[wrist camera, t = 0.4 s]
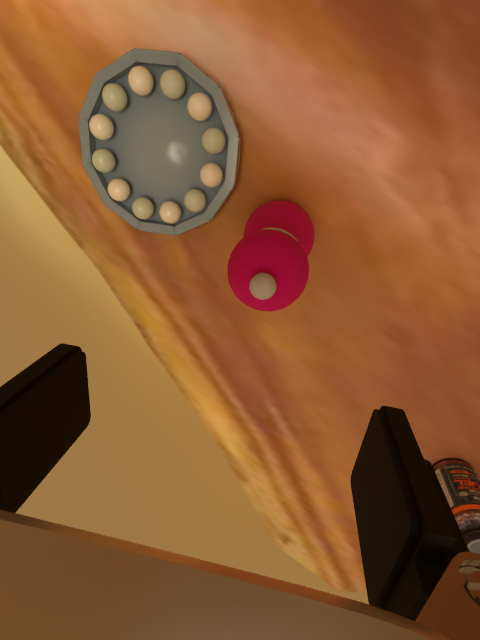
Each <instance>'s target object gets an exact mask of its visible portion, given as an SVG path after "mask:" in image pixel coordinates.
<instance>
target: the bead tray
mask: <svg viewBox="0 0 480 640" xmlns="http://www.w3.org/2000/svg"><path fill="white" fill-rule="evenodd" d="M97 74H98V75H97ZM97 74H96V75H95V77H94V80H93V82H92V85H91V87H90V90H89V92H88V95H87V97H86V100H85V102H84V105H83V107H82V110H81V112H80V115H79V117H80V118H79V128H80V140H81V151H82V162H83V164H85V165H83V166H84V168H85V170H86V172H87V174H88V175H89V177H90V179H91V181H92V183H93V185H94V186H95V188H96V190H97V192H98V194H99V196H100V197H101V199H102V201H103V203H104V204H106V205H105V206H107V207H108V208H109V209H111V210H112V211H113V212H115V213H116V214H117V215H119V216H120V217H121V218H123V219H124V220H125V221H127V222H128V223H129V224H131V225H132V226H133V227H135V228H136V229H139V230H142V231H148V232H155V233H161V234H168V235H174V236H175V235H179V234H181V233H183V232H185V231H188V230H190V229H192V228H195V227H197V226H199V225H201V224H204V223H206V222H208V221H210V220H212V219H213V218H214V217H215V215H216V214H217V212H218V211H219V209H220V208H221V207H222V206H223V205H224V203H225V202H226V201H227V199H228V197H229V196H230V194H231V192H232V190H233V189H234V187H235V186H236V185H235V184H236V183H237V176H238V173H239V167H240V161H241V143H240V142H241V138H240V133H239V129H238V125H237V122H236V119H235V115H234V113H233V111H232V108H231V106H230V104H229V102H228V100H227V99H226V96H225V94H224V91H223V89H222V88H221V87H220V86H219V85H218V84H217V83H215V82H214V81H213V80H212V79H211V78H210V77H208V76H207V75H206V74H205V73H204V72H203V71H201V70H200V69H199V68H198V67H197V66H196V65H194V64H193V63H192V62H191V61H190V60H189V59H187V58H186V57H185V56H184V55H182V54H181V53H177V52H167V51H157V50H147V49H136V48H134V49H132V50H130V51H129V52H127V53H126V54H124V55H123V56H121V57H120V58H118V59H117V60H115V61H114V62H112V63H111V64H109V65H108V66H106V67H105V68H103V69H102V70H100V71H99V72H97Z"/></svg>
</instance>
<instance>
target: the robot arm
mask: <svg viewBox="0 0 480 640" xmlns="http://www.w3.org/2000/svg"><path fill="white" fill-rule="evenodd" d="M90 417H91V414H90V402H89V391H88V377H87V365H86V355H85V353H84V352H82V350H81V348H80V347H78V346H73V345H67V344H60V345H58V346H56V347H55V348H54V349H52V350H51V351H49V352H48V353H47V354H45V355H44V356H42V357H41V358H40V359H38V360H37V361H36V362H34V363H33V364H32V365H30V366H29V367H27V368H26V369H24V370H23V371H22V372H21V373H19V374H18V375H16V376H15V377H13V378H12V379H11V380H9V381H8V382H7V383H5V384H4V385H2V386H1V387H0V640H480V554H478V553H472V552H470V551H469V549H468V547H467V544H466V542H465V540H464V538H463V535H462V533H461V531H460V528H459V526H458V524H457V521H456V519H455V517H454V514H453V512H452V510H451V508H450V505H449V503H448V501H447V498H446V496H445V494H444V491H443V489H442V487H441V484H440V482H439V480H438V478H437V475H436V473H435V471H434V468H433V466H432V465H431V463H430V462H429V461H428V460H424V458H423V456H422V453H421V451H420V449H419V446H418V444H417V441H416V439H415V437H414V434H413V432H412V429H411V427H410V424H409V422H408V420H407V417H406V415H405V412H404V411H403V410H402V409H398V408H393V407H388V406H382V407H381V408H380V410H378V409H375V410H374V411H373V413H372V416H371V419H370V422H369V425H368V428H367V431H366V433H365V436H364V439H363V442H362V445H361V448H360V451H359V454H358V456H357V459H356V462H355V465H354V468H353V471H352V474H351V489H352V495H353V502H354V509H355V515H356V522H357V529H358V535H359V542H360V549H361V555H362V562H363V569H364V575H365V582H366V588H367V595H368V601H369V604H370V605H368V604H365V603H362V602H358V601H355V600H351V599H348V598H344V597H341V596H337V595H333V594H330V593H326V592H323V591H318V590H315V589H311V588H308V587H305V586H301V585H297V584H293V583H289V582H286V581H282V580H278V579H274V578H270V577H266V576H262V575H259V574H255V573H251V572H247V571H243V570H239V569H235V568H231V567H228V566H224V565H220V564H216V563H212V562H208V561H204V560H200V559H196V558H193V557H189V556H184V555H180V554H176V553H173V552H169V551H165V550H161V549H157V548H153V547H149V546H145V545H141V544H137V543H133V542H129V541H125V540H121V539H117V538H113V537H109V536H105V535H101V534H97V533H93V532H89V531H85V530H81V529H77V528H73V527H69V526H65V525H61V524H57V523H52V522H49V521H44V520H40V519H36V518H32V517H28V516H24V515H20V514H16V513H15V512H16V511H17V510H18V509H19V508H20V507H21V505H22V504H23V503H24V502H25V501H26V500H27V498H28V497H29V496H30V495H31V494H32V492H33V491H34V490H35V489H36V488H37V486H38V485H39V484H40V483H41V482H42V480H43V479H44V478H45V477H46V476H47V474H48V473H49V472H50V471H51V470H52V468H53V467H54V466H55V465H56V464H57V462H58V461H59V460H60V459H61V458H62V456H63V455H64V454H65V453H66V452H67V450H68V449H69V448H70V447H71V446H72V444H73V443H74V442H75V441H76V440H77V438H78V437H79V436H80V435H81V433H82V432H83V431H84V430H85V428H86V427H87V426H88V424H89V422H90Z"/></svg>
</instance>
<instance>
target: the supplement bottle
mask: <svg viewBox="0 0 480 640" xmlns="http://www.w3.org/2000/svg"><path fill="white" fill-rule="evenodd" d="M433 468H434V471H435V473H436V475H437V478H438V480H439V482H440V484H441V487H442V489H443V491H444V494H445V496H446V498H447V501H448V503H449V505H450V508H451V510H452V512H453V514H454V517H455V519H456V521H457V524H458V526H459V528H460V531H461V533H462V535H463V538H464V540H465V542H466V544H467V547H468V549H469V551H470V552H472V553H478V554H480V481H479V479H478V477H477V475H476V473H475V472H474V470H473V468H472V467H471V466H470V465H469V464H467V463H466V462H464V461H460V460H455V459H450V460H444V461H441V462H439V463H437V464H436V465H434V466H433Z"/></svg>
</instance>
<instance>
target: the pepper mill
mask: <svg viewBox="0 0 480 640" xmlns="http://www.w3.org/2000/svg"><path fill="white" fill-rule="evenodd" d="M313 242H314V228H313V224H312V222H311V219H310V217H309V216H308V214H307V213H306V212H305V211H304V210H303V209H302V208H301V207H299V206H298V205H296V204H294V203H292V202H289V201H282V200H280V201H271V202H268V203H265V204H264V205H262V206H260V207H259V208H258V209H256V210H255V211H254V212H253V214H252V215H251V216H250V218H249V220H248V222H247V224H246V227H245V231H244V238H243V239H242V240H241V241H239V243H238V244H237V245H236V246H235V248H234V250H233V251H232V253H231V256H230V259H229V262H228V280H229V283H230V286H231V288H232V290H233V292H234V294H235V295H236V296H237V298H238V299H239V300H241V301H242V302H243V303H244V304H246V305H247V306H249V307H251V308H253V309H256V310H260V311H276V310H279V309H282V308H285V307H287V306H289V305H290V304H292V303H293V302H294V301H295V300H296V299H297V298H298V297H299V296H300V295H301V293H302V292H303V290H304V288H305V286H306V284H307V280H308V274H309V264H308V259H307V257H308V255H309V254H310V251H311V249H312V246H313Z"/></svg>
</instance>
